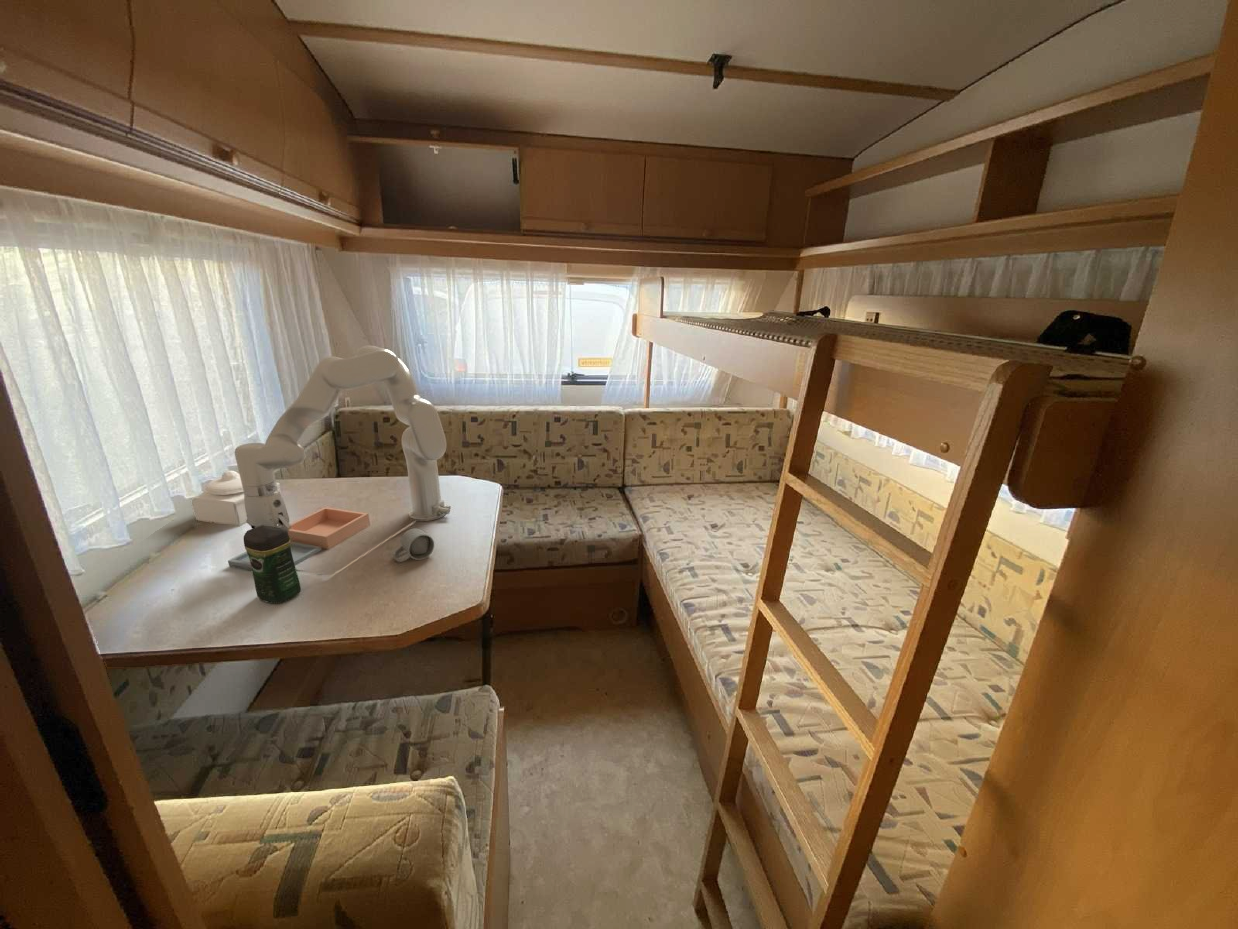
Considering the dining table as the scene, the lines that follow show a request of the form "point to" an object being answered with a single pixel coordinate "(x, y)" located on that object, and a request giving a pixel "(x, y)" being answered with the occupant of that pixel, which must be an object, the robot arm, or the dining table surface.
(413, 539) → the ceramic mug
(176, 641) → the dining table surface
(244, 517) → the white box with knob
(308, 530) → the terracotta dish
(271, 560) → the coffee jar
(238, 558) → the grey tray
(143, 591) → the dining table surface
